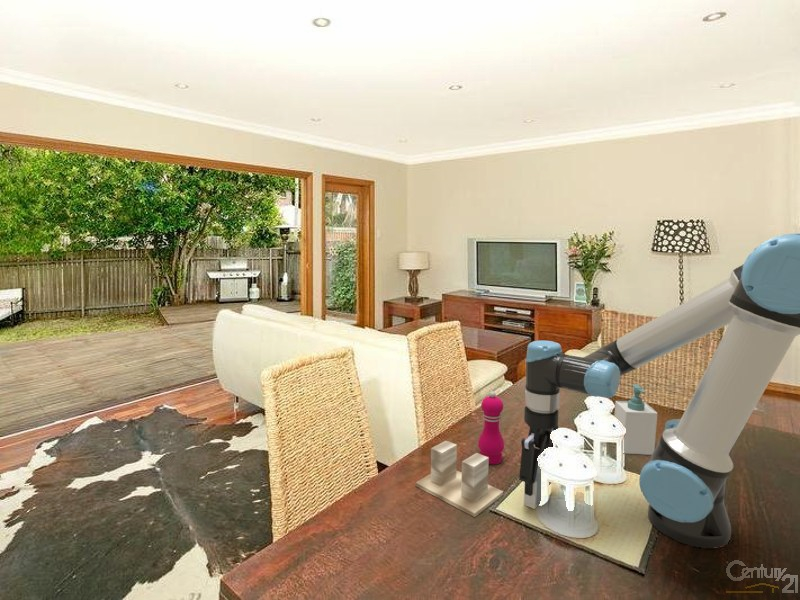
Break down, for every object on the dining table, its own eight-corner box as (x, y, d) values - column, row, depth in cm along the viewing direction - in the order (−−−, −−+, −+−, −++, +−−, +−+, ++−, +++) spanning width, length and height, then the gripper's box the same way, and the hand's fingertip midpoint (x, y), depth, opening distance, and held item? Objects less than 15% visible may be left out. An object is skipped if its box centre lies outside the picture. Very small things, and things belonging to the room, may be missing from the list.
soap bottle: (623, 454, 129) (627, 390, 126) (612, 440, 138) (616, 380, 135) (654, 455, 128) (660, 392, 125) (641, 441, 137) (646, 381, 134)
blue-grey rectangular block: (549, 500, 107) (551, 468, 106) (541, 507, 104) (543, 475, 103) (534, 493, 110) (535, 463, 108) (525, 500, 107) (527, 469, 106)
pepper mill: (504, 466, 122) (506, 397, 119) (477, 464, 124) (479, 395, 121) (503, 454, 129) (505, 388, 126) (478, 451, 131) (479, 386, 128)
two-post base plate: (503, 495, 109) (504, 456, 107) (474, 517, 100) (475, 475, 99) (445, 468, 121) (445, 433, 120) (415, 486, 113) (415, 449, 111)
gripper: (546, 392, 113) (542, 477, 116) (504, 415, 99) (501, 510, 102) (575, 400, 108) (571, 488, 111) (535, 425, 94) (531, 525, 97)
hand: (537, 498), depth 107 cm, fingers open, 7 cm apart
